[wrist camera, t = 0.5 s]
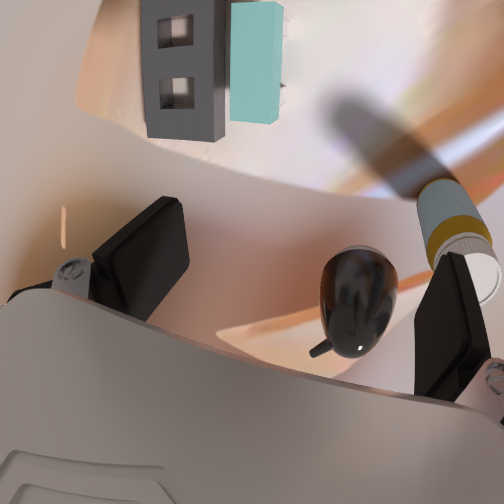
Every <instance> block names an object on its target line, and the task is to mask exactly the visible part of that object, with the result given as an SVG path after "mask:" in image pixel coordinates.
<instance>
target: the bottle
mask: <svg viewBox="0 0 504 504" xmlns="http://www.w3.org/2000/svg"><path fill="white" fill-rule="evenodd" d="M417 212H418V217H419V221H420V226H421V230H422V235H423V239H424V244H425V248H426V254H427V258H428V262H429V265H430V267H431V269H432V270H433V271H434V272H435V269H436V267H437V265H438V262H439V260H440V257H441V256H442V255H443V254H444V255H446V254H447V252H449V251H450V252H454V253H458V254H462V255H464V257H465V259H466V262H467V265H468V268H469V271H470V274H471V277H472V280H473V284H474V287H475V290H476V294H477V297H478V301H479V304H480V306H481V305H483V304H485V303H486V302H488V301H489V300H490V299H491V298H492V297H493V296H494V295H495V293H496V292H497V290H498V288H499V286H500V283H501V278H502V271H501V267H500V264H499V262H498V259H497V257H496V255H495V253H494V251H493V249H492V239H491V236H490V233H489V231H488V229H487V227H486V225H485V223H484V221H483V219H482V218H481V216H480V214H479V213H478V210H477V209H476V207H475V205H474V204H473V202H472V200H471V198H470V197H469V195H468V194H467V192H466V190H465V189H464V188H463V187H462V186H461V185H460V184H459V183H458V182H456V181H454V180H452V179H448V178H440V179H435V180H433V181H431V182H429V183H428V184H426V186H425V187H424V188H423V189H422V190H421V192H420V194H419V196H418V199H417Z"/></svg>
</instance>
